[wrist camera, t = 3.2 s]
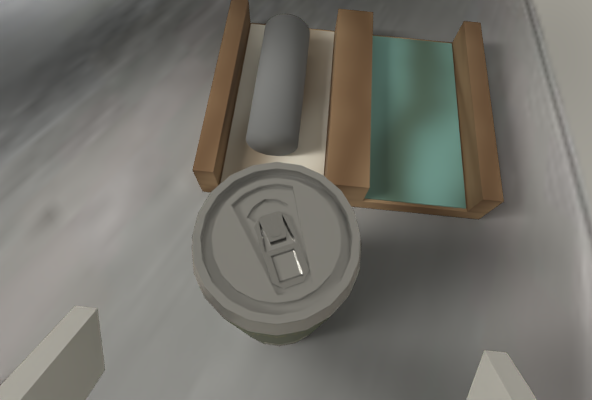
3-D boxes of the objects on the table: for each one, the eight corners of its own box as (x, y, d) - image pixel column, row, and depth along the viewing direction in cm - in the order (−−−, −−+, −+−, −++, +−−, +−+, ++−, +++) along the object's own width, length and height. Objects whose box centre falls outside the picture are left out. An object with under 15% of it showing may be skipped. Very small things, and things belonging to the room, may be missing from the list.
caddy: (202, 191, 25) (192, 170, 22) (236, 31, 30) (231, -2, 27) (478, 219, 24) (503, 201, 22) (462, 53, 30) (480, 22, 27)
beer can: (338, 327, 22) (399, 294, 10) (248, 360, 21) (209, 364, 10) (306, 241, 23) (329, 136, 12) (222, 268, 23) (166, 183, 12)
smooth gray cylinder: (300, 156, 24) (294, 128, 21) (252, 155, 25) (240, 127, 22) (311, 50, 28) (307, 13, 25) (269, 50, 28) (260, 14, 25)
